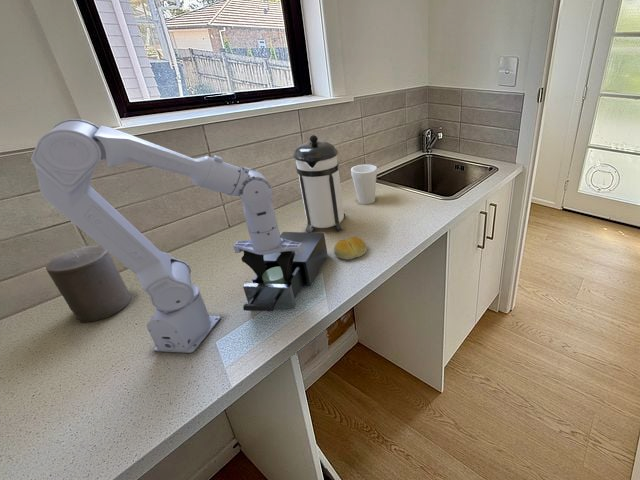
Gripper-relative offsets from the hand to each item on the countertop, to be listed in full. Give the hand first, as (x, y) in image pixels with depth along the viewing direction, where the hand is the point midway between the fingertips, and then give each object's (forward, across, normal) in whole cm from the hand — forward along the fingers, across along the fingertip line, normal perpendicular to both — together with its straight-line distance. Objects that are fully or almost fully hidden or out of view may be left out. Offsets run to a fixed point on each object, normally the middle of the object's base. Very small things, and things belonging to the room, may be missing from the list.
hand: (275, 277), depth 77 cm
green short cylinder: (+1, 0, 0) cm, 1 cm away
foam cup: (+6, -9, -55) cm, 56 cm away
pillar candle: (+6, +39, +5) cm, 40 cm away
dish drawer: (+5, 0, 0) cm, 5 cm away
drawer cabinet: (+6, 0, -11) cm, 12 cm away
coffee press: (+6, +1, -37) cm, 37 cm away
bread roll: (+6, -12, -20) cm, 24 cm away
